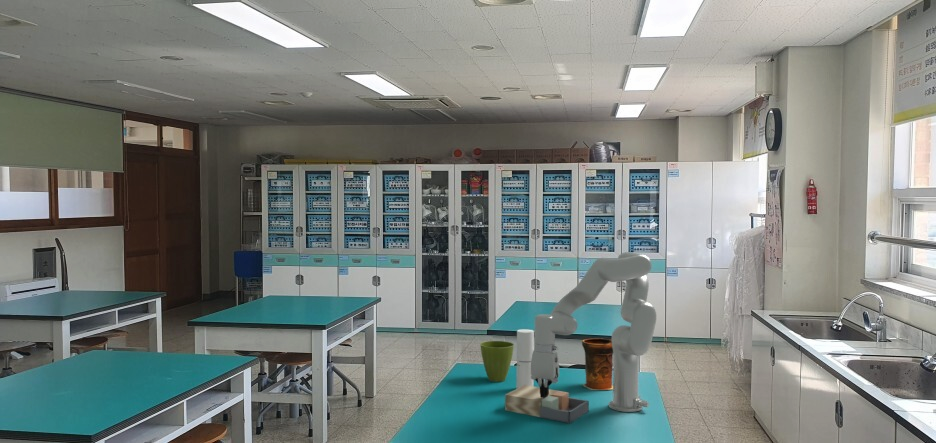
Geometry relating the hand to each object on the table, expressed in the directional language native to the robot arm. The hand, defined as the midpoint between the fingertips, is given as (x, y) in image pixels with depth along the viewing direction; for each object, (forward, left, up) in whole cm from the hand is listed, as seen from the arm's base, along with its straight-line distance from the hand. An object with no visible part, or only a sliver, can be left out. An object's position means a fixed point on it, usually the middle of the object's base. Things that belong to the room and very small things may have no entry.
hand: (544, 396), depth 249 cm
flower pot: (+40, -32, -7) cm, 51 cm away
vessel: (-2, -47, -7) cm, 48 cm away
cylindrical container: (+22, -25, -7) cm, 34 cm away
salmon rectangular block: (-1, -8, -3) cm, 8 cm away
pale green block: (-1, 0, -3) cm, 3 cm away
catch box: (-6, -4, -7) cm, 10 cm away
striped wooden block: (+7, -4, -7) cm, 10 cm away
